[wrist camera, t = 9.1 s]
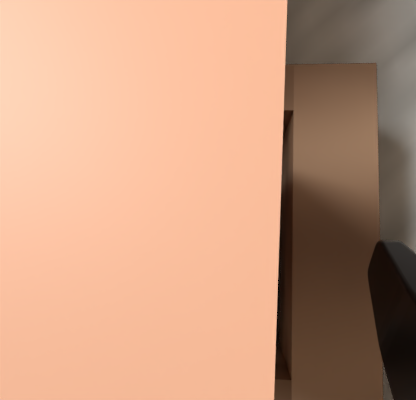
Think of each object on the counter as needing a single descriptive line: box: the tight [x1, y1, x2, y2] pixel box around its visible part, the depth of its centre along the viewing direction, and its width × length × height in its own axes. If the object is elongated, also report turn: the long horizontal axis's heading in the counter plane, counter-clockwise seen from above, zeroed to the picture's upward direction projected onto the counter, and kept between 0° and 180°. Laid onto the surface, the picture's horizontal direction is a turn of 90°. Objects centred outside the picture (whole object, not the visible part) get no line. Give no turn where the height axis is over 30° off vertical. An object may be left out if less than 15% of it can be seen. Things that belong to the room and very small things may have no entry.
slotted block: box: [274, 63, 383, 400], centre depth 13 cm, size 11×12×4 cm
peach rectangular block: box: [0, 0, 287, 400], centre depth 9 cm, size 5×4×13 cm
